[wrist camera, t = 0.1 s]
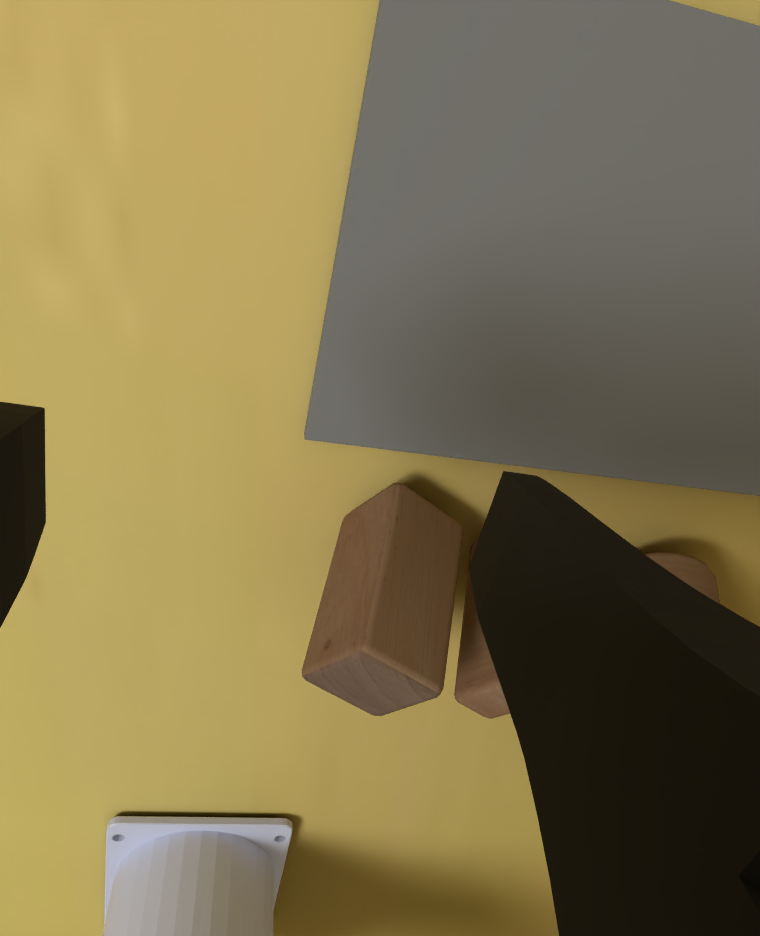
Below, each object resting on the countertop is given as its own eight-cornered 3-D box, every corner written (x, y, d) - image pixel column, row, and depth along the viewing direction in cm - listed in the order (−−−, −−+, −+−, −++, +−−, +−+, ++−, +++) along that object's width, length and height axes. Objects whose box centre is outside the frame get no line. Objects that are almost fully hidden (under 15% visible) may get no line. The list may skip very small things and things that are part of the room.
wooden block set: (321, 499, 27) (236, 778, 20) (489, 381, 21) (450, 712, 14) (622, 695, 33) (636, 952, 27) (809, 645, 28) (888, 954, 21)
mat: (861, 503, 26) (868, 509, 26) (304, 433, 22) (304, 439, 22) (1106, 127, 20) (1120, 128, 20) (392, -76, 16) (395, -78, 15)
